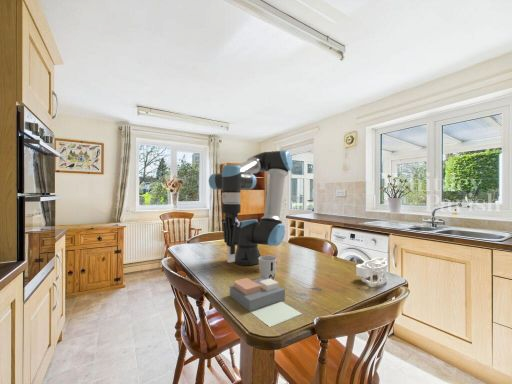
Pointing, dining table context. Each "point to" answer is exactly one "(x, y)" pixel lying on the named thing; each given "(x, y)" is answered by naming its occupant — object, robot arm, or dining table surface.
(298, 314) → the mat
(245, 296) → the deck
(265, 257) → the cup
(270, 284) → the small tile
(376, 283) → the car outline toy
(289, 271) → the dining table surface
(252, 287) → the tile
